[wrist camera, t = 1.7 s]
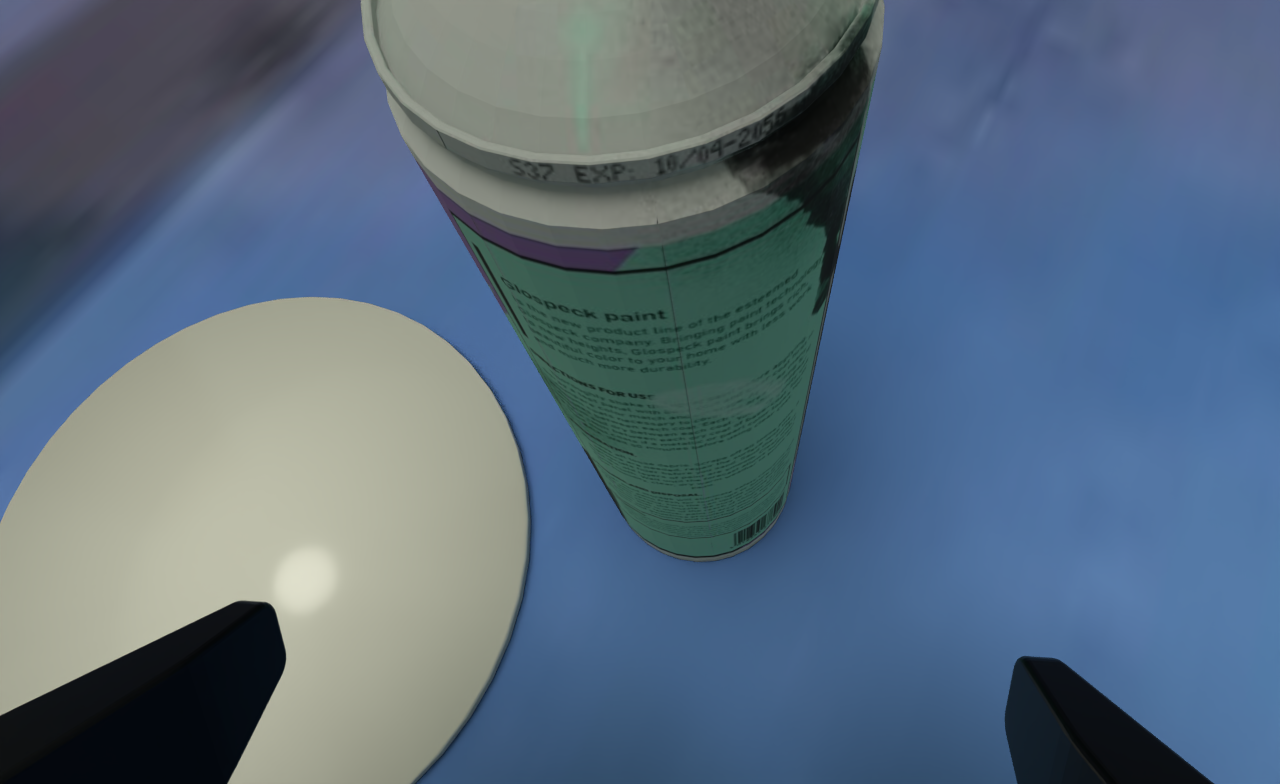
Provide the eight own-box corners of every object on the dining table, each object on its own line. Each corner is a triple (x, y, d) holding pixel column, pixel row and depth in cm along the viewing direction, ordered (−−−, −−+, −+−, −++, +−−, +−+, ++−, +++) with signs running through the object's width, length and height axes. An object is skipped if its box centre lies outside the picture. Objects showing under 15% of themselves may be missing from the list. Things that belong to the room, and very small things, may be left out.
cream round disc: (628, 411, 25) (625, 404, 24) (318, 1023, 19) (305, 1033, 19) (216, 244, 30) (207, 236, 29) (-127, 693, 24) (-146, 693, 23)
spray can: (807, 414, 24) (1017, -564, 6) (767, 584, 22) (891, -67, 4) (641, 376, 25) (380, -526, 7) (590, 535, 23) (44, -139, 5)
